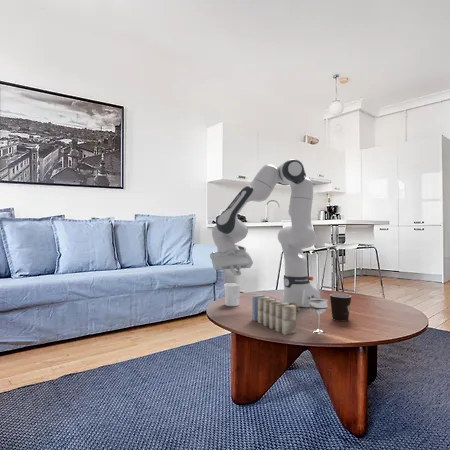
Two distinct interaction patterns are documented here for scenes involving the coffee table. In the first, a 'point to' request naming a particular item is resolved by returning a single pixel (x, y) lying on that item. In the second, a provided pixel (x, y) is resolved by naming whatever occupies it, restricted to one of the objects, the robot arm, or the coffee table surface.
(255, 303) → the domino
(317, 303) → the wineglass
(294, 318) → the domino
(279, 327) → the domino
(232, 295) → the white cup
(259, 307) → the domino
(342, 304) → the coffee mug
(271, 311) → the domino
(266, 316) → the domino
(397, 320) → the coffee table surface
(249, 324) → the coffee table surface
